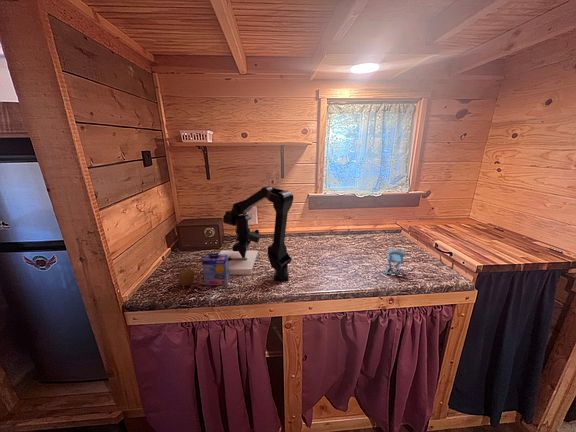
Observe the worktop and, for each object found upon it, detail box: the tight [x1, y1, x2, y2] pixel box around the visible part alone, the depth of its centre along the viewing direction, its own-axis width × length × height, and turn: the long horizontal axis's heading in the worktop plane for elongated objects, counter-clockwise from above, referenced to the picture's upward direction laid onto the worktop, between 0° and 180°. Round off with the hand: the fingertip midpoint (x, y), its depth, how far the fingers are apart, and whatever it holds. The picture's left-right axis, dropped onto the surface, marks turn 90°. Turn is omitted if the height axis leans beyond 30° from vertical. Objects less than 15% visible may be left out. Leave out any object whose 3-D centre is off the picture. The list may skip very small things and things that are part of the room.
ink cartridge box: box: [201, 253, 230, 286], centre depth 98 cm, size 10×6×14 cm, turn 94°
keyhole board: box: [218, 249, 259, 276], centre depth 115 cm, size 20×20×3 cm
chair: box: [384, 247, 406, 277], centre depth 107 cm, size 8×8×12 cm
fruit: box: [178, 267, 195, 287], centre depth 97 cm, size 6×6×8 cm
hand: (244, 256), depth 115 cm, fingers closed
